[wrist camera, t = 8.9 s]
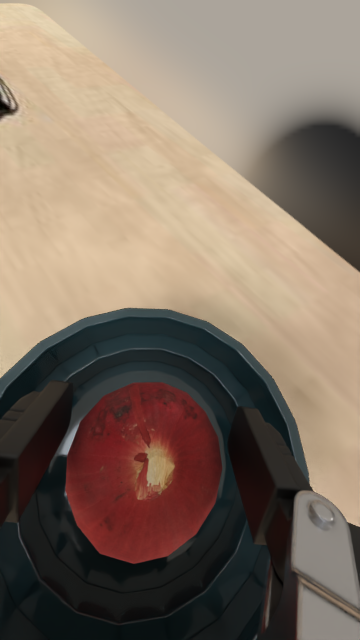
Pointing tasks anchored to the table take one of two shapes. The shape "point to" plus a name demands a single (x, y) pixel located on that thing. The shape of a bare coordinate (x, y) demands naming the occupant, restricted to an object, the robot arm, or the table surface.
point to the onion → (143, 471)
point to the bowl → (189, 559)
